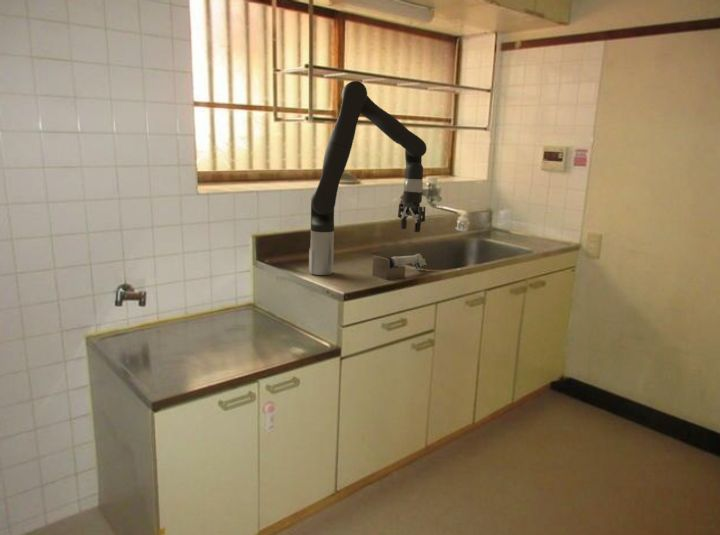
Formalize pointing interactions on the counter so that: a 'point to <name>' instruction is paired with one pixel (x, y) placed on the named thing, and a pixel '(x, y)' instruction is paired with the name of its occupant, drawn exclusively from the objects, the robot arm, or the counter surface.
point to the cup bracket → (386, 269)
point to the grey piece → (407, 261)
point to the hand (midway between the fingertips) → (410, 230)
